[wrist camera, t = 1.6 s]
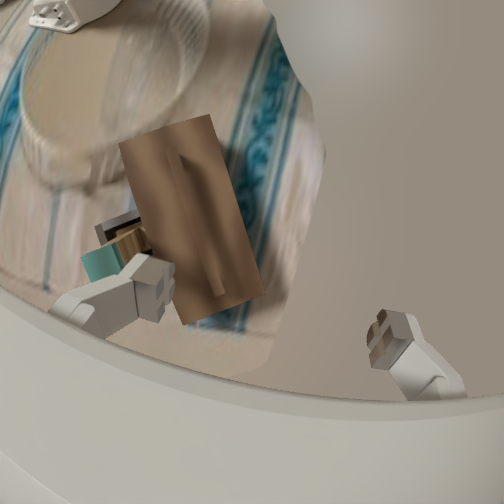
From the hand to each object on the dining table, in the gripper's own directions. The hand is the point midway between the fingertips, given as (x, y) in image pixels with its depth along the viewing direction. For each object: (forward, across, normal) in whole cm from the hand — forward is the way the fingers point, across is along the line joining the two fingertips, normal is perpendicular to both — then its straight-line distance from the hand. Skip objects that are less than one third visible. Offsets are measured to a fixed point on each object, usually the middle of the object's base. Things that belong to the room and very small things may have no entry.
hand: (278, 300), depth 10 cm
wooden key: (+26, +21, +16) cm, 37 cm away
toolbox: (+28, +16, +15) cm, 36 cm away
